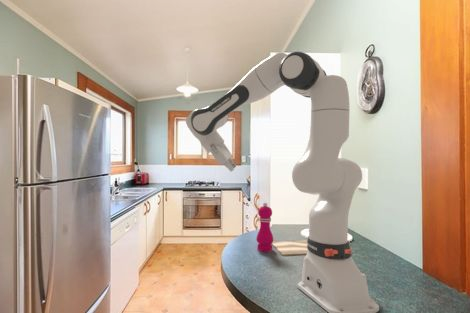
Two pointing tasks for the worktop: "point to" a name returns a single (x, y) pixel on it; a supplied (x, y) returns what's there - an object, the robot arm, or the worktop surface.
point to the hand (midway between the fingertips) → (233, 168)
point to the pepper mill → (265, 229)
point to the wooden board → (291, 247)
